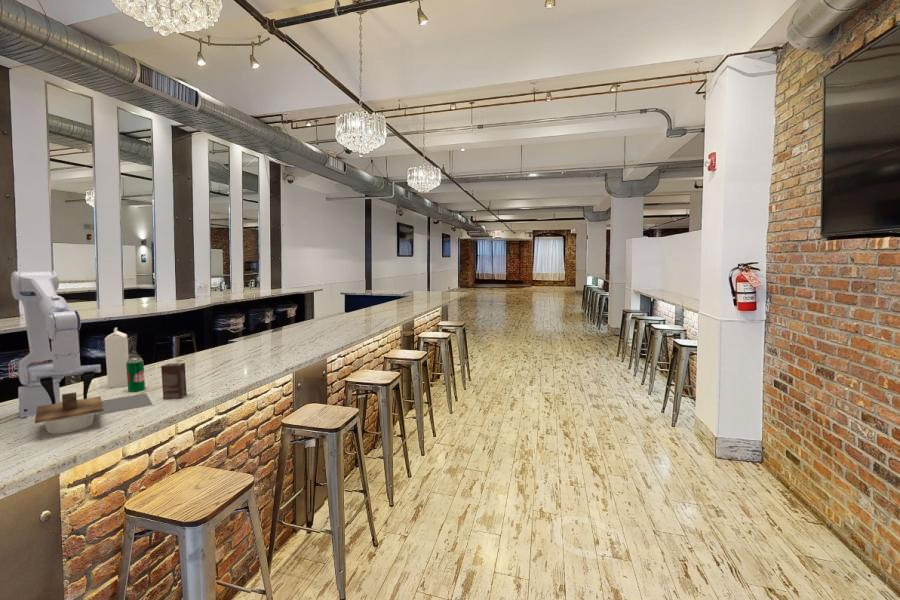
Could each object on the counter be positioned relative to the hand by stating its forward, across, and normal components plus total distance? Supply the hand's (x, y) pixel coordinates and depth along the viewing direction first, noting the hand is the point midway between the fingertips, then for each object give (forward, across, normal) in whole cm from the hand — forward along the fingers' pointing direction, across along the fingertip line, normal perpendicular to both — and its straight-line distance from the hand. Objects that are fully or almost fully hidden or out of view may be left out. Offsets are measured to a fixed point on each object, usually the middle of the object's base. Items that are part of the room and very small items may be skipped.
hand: (69, 400), depth 122 cm
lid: (+3, 0, 0) cm, 3 cm away
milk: (+8, +14, +42) cm, 45 cm away
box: (+8, +27, +11) cm, 30 cm away
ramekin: (+8, 0, 0) cm, 8 cm away
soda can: (+8, +18, +29) cm, 35 cm away
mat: (+8, +12, +14) cm, 20 cm away
